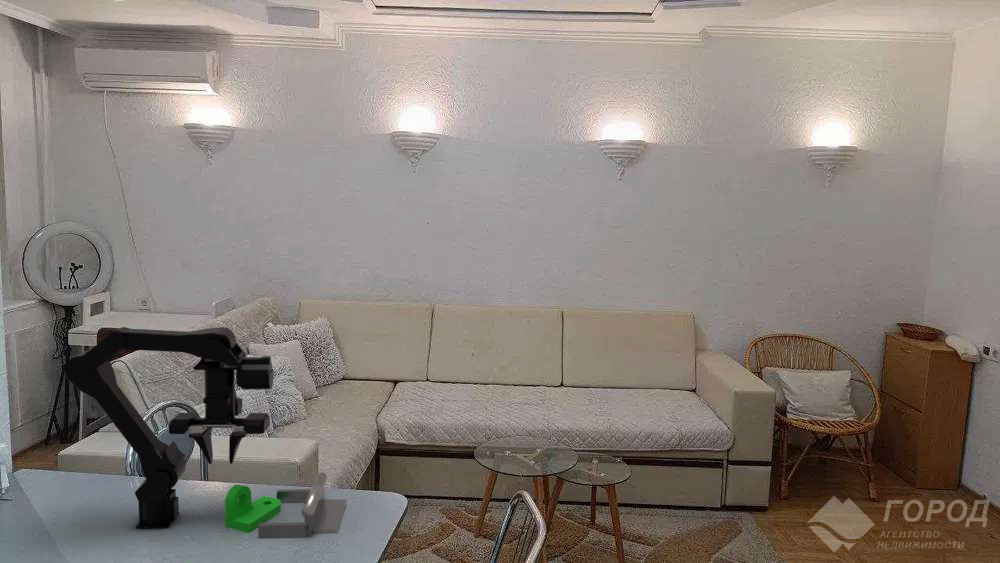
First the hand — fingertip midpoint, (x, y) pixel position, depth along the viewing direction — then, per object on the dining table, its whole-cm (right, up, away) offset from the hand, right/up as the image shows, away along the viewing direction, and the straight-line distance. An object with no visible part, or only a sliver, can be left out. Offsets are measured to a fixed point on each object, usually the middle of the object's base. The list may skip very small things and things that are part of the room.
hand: (221, 463), depth 144 cm
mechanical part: (+7, -12, +2) cm, 14 cm away
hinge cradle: (+17, -12, +3) cm, 21 cm away
